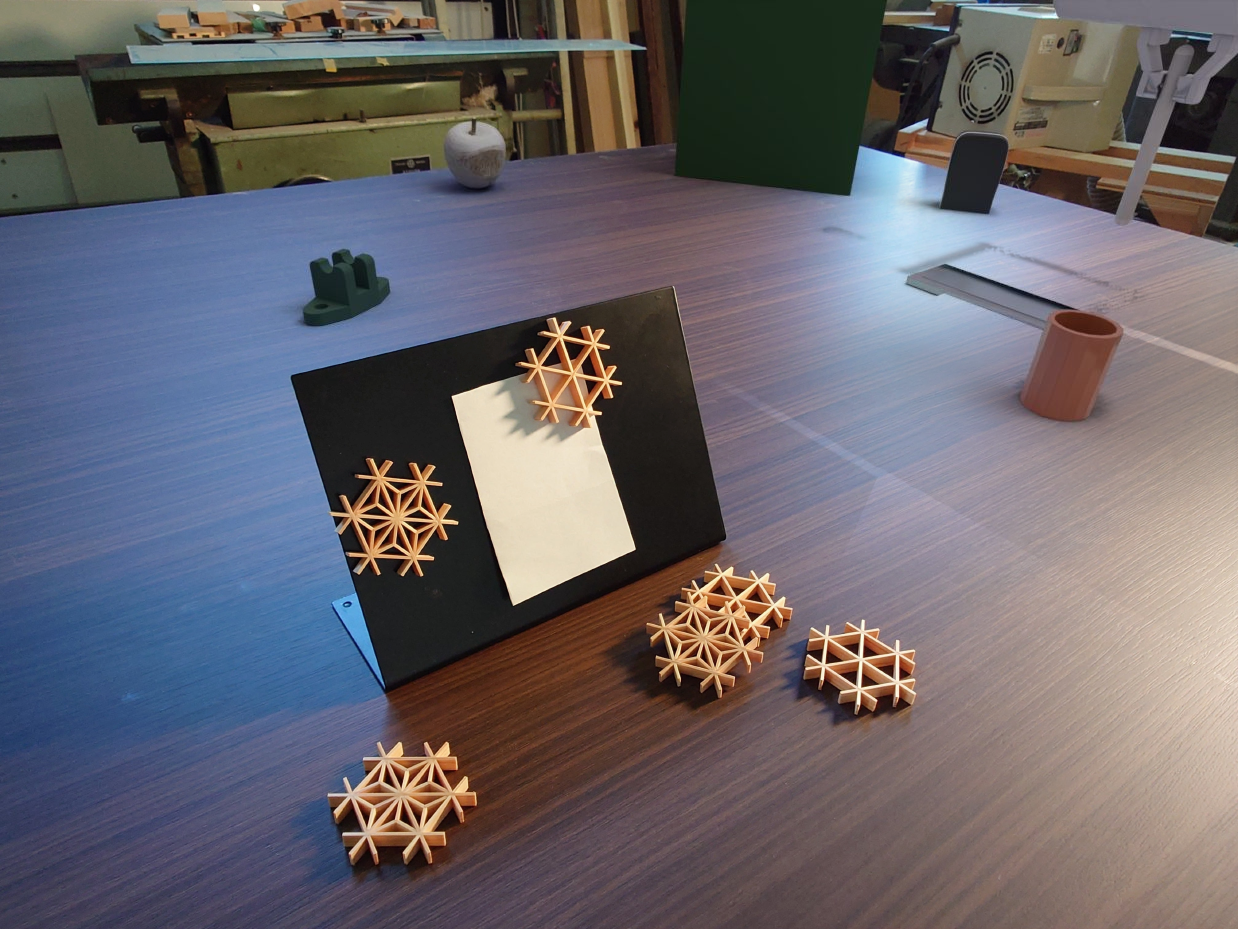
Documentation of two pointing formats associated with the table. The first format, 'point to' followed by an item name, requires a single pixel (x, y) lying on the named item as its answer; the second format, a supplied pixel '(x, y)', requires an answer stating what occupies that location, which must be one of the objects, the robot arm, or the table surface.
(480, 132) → the decorative object
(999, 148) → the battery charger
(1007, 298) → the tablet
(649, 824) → the table surface
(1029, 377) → the pen cup
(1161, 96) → the stylus
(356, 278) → the mount
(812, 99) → the binder
